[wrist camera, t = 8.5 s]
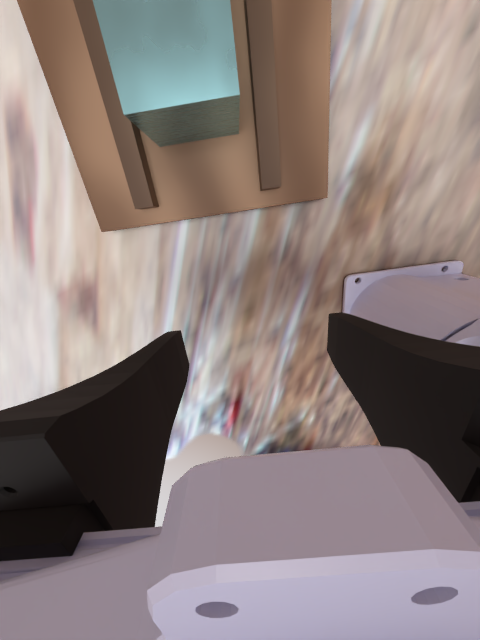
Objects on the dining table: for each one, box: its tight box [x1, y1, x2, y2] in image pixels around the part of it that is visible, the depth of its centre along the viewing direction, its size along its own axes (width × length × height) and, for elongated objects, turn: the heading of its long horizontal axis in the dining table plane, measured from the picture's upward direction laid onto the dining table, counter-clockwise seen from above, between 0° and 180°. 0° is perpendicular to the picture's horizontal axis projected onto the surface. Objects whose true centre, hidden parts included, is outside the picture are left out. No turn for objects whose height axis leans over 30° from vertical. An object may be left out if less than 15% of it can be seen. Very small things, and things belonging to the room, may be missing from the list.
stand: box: [17, 0, 331, 232], centre depth 13 cm, size 16×16×3 cm
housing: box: [93, 0, 240, 147], centre depth 10 cm, size 8×5×6 cm, turn 8°
